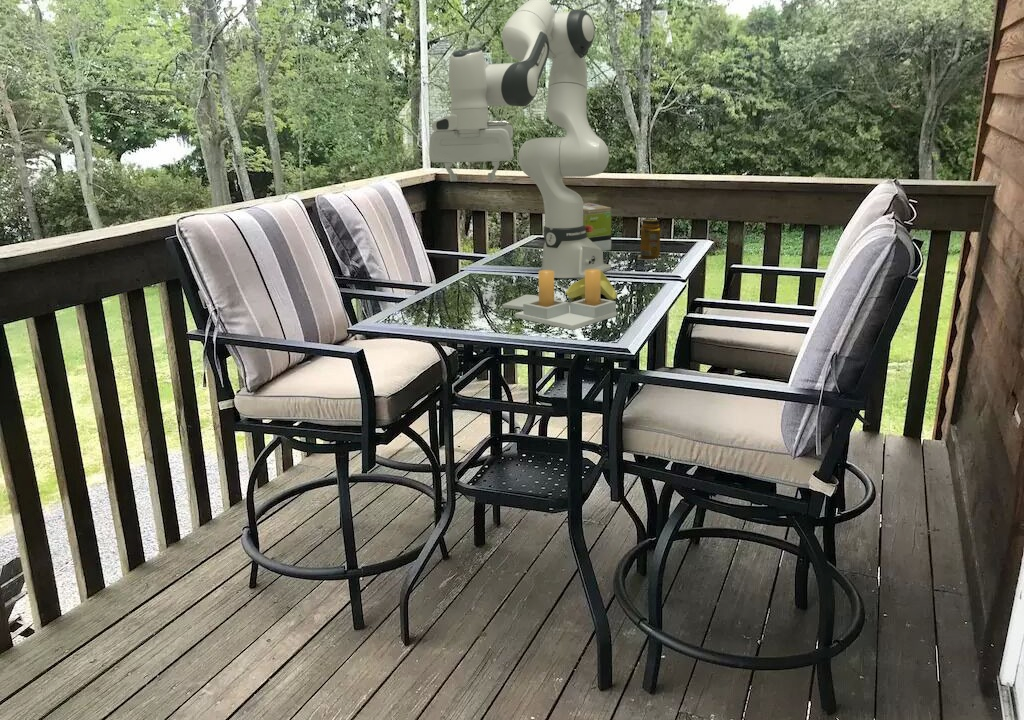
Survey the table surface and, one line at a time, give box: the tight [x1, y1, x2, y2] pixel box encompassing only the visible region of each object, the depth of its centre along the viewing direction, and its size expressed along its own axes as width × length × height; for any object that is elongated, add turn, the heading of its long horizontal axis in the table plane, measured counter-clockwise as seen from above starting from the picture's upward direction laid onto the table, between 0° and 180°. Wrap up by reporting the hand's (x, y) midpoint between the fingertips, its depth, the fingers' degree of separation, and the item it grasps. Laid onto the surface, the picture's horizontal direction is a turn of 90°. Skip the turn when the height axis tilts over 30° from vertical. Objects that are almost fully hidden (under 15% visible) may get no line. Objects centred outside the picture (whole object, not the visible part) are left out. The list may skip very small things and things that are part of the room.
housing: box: [514, 269, 618, 331], centre depth 191 cm, size 16×18×11 cm
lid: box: [501, 293, 561, 311], centre depth 206 cm, size 14×10×1 cm
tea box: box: [583, 202, 612, 252], centre depth 278 cm, size 15×10×15 cm, turn 25°
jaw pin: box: [538, 270, 555, 307], centre depth 191 cm, size 4×4×10 cm
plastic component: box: [565, 272, 618, 302], centre depth 206 cm, size 20×7×10 cm
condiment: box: [637, 218, 662, 261], centre depth 258 cm, size 7×8×12 cm
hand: (472, 181), depth 198 cm, fingers open, 8 cm apart
